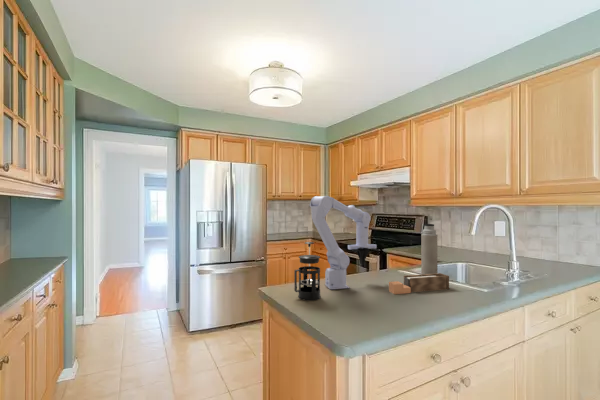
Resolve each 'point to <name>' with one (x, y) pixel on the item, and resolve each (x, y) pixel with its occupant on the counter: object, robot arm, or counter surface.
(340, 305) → the counter surface
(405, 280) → the sliding door
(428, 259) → the thermos bottle
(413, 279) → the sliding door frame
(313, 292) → the french press
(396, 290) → the peach two-level step
